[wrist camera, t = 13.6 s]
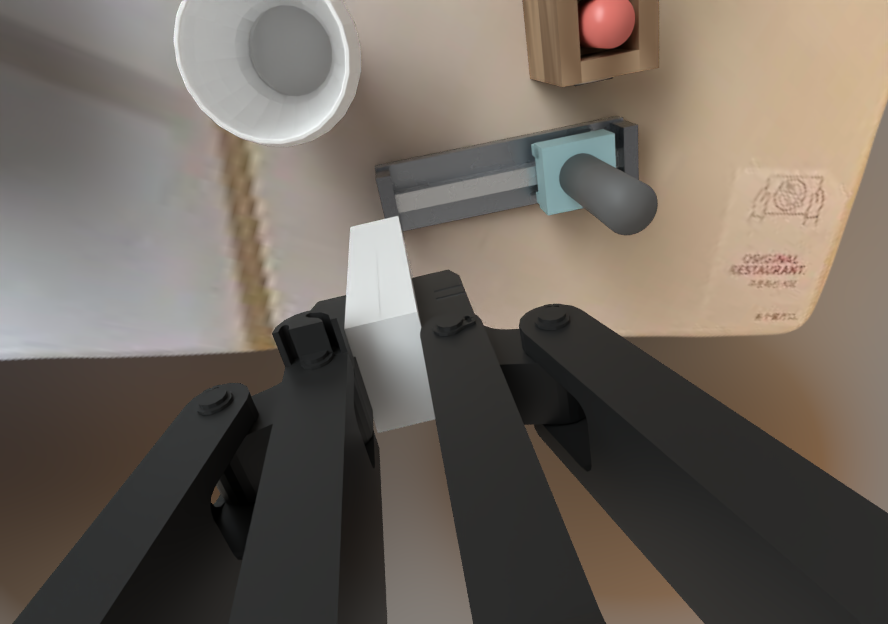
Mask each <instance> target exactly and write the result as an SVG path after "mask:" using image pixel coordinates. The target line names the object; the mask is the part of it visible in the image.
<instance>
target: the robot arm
mask: <svg viewBox="0 0 888 624" xmlns="http://www.w3.org/2000/svg"><path fill="white" fill-rule="evenodd" d="M272 335H273V337H274V340H275V342H276V345H277V347H278V350H279V352H280V355H281V357H282V360H283V362H284V365H285V371H284V376H283V381H282V382H281V383H279V384H278V385H276V386H274V387H272V388H270V389H268V390H265V391H263V392H260V393H258V394H256V395H254V396H251V394H250V392H249V390H248V388H247V386H245V385H243V384H241V383H228V384H223V385H217V386H214V387H213V388H209V389H207V390H205V391H203V393H201V394H200V395H198V396H196V397H195V398H193V399H192V400H191V401H190V402H189V403H188V404H187V405H186V406H185V407H184V409H183V410H182V411H181V412H180V414H179V415H178V416H177V417H176V419H175V420H174V421H173V423H172V424H171V425H170V426H169V427H168V429H167V430H166V431H165V433H164V434H163V435H162V436H161V438H160V439H159V440H158V441H157V442H156V444H155V445H154V446H153V448H152V449H151V450H150V451H149V453H148V454H147V455H146V456H145V458H144V459H143V460H142V461H141V463H140V464H139V465H138V466H137V468H136V469H135V470H134V471H133V473H132V474H131V475H130V476H129V478H128V479H127V480H126V482H125V483H124V484H123V485H122V487H121V488H120V489H119V490H118V492H117V493H116V494H115V495H114V497H113V498H112V499H111V500H110V502H109V503H108V504H107V505H106V507H105V508H104V509H103V510H102V512H101V513H100V514H99V516H98V517H97V518H96V519H95V520H94V522H93V523H92V524H91V526H90V527H89V528H88V529H87V531H86V532H85V533H84V534H83V536H82V537H81V538H80V539H79V541H78V542H77V543H76V544H75V546H74V547H73V548H72V549H71V551H70V552H69V553H68V555H67V556H66V557H65V558H64V560H63V561H62V562H61V563H60V565H59V566H58V567H57V569H56V570H55V571H54V572H53V573H52V575H51V576H50V577H49V578H48V580H47V581H46V582H45V583H44V585H43V586H42V587H41V588H40V590H39V591H38V592H37V594H36V595H35V596H34V597H33V598H32V600H31V601H30V602H29V604H28V605H27V606H26V607H25V609H24V610H23V611H22V612H21V614H20V615H19V616H18V618H17V619H16V620H15V621H14V622H13V624H387V607H386V585H385V563H384V541H383V521H382V520H383V519H382V498H381V476H380V456H379V455H380V454H379V446H378V443H377V440H376V437H375V433H374V430H373V419H374V422H375V425H376V428H377V431H378V433H380V432H384V431H388V430H392V429H396V428H401V427H405V426H409V425H413V424H417V423H421V422H426V421H430V420H434V419H435V420H436V425H437V431H438V435H439V441H440V446H441V452H442V458H443V463H444V468H445V474H446V479H447V484H448V490H449V495H450V500H451V506H452V511H453V517H454V522H455V528H456V533H457V539H458V544H459V549H460V555H461V560H462V566H463V571H464V576H465V582H466V587H467V593H468V598H469V603H470V608H471V614H472V619H473V624H606V622H605V621H604V619H603V616H602V614H601V612H600V610H599V607H598V605H597V602H596V600H595V597H594V595H593V593H592V590H591V588H590V585H589V583H588V580H587V578H586V576H585V573H584V570H583V568H582V566H581V563H580V561H579V558H578V556H577V553H576V551H575V548H574V546H573V544H572V541H571V539H570V536H569V534H568V531H567V529H566V526H565V524H564V521H563V519H562V517H561V514H560V512H559V509H558V507H557V504H556V502H555V499H554V497H553V495H552V492H551V490H550V487H549V485H548V482H547V480H546V477H545V475H544V472H543V470H542V468H541V465H540V463H539V460H538V458H537V455H536V453H535V450H534V448H533V445H532V443H531V441H530V438H529V436H528V433H527V431H526V428H525V426H524V425H525V424H527V425H528V424H534V427H535V429H536V431H537V433H538V435H539V436H540V437H541V438H542V440H543V441H544V442H545V443H546V444H547V445H548V446H549V448H550V449H551V450H552V451H553V452H554V453H555V454H556V456H557V457H558V458H559V459H560V460H561V461H562V462H563V463H564V464H565V466H566V467H567V468H568V469H569V470H570V471H571V472H572V474H573V475H574V476H575V477H576V478H577V479H578V480H579V481H580V483H581V484H582V485H583V486H584V487H585V488H586V489H587V491H588V492H589V493H590V494H591V495H592V496H593V498H594V499H595V500H596V501H597V502H598V503H599V504H600V505H601V507H602V508H603V509H604V510H605V511H606V512H607V513H608V515H609V516H610V517H611V518H612V519H613V520H614V521H615V522H616V524H617V525H618V526H619V527H620V528H621V529H622V530H623V532H624V533H625V534H626V535H627V536H628V537H629V538H630V540H631V541H632V542H633V543H634V544H635V545H636V546H637V547H638V549H639V550H641V552H642V553H643V554H644V555H645V556H646V558H647V559H648V560H649V561H650V562H651V563H652V564H653V566H654V567H655V568H656V569H657V570H658V571H659V572H660V573H661V575H662V576H663V577H664V578H665V579H666V580H667V582H668V583H669V584H671V586H672V587H673V588H674V589H675V591H676V592H677V593H678V594H679V595H680V596H681V597H682V599H683V600H684V601H685V602H686V603H687V604H688V605H689V607H690V608H691V609H692V610H693V611H694V612H695V613H696V614H697V616H699V618H700V619H701V620H702V621H703V622H704V623H705V624H888V513H887V512H885V511H884V510H882V509H881V508H879V507H878V506H876V505H875V504H873V503H871V502H870V501H869V500H867V499H866V498H864V497H863V496H861V495H859V494H858V493H856V492H855V491H853V490H852V489H850V488H849V487H847V486H845V485H844V484H843V483H841V482H840V481H838V480H837V479H835V478H834V477H832V476H831V475H829V474H828V473H826V472H825V471H823V470H822V469H820V468H819V467H817V466H816V465H814V464H813V463H811V462H810V461H808V460H807V459H805V458H804V457H802V456H801V455H799V454H798V453H796V452H795V451H793V450H792V449H790V448H789V447H787V446H786V445H784V444H783V443H781V442H779V441H778V440H777V439H775V438H773V437H772V436H770V435H769V434H768V433H766V432H765V431H763V430H761V429H760V428H759V427H757V426H756V425H754V424H752V423H751V422H750V421H748V420H746V419H745V418H743V417H742V416H740V415H739V414H737V413H736V412H734V411H733V410H731V409H730V408H728V407H727V406H725V405H724V404H722V403H721V402H719V401H718V400H716V399H715V398H713V397H712V396H710V395H709V394H707V393H706V392H704V391H703V390H701V389H700V388H698V387H697V386H695V385H694V384H692V383H691V382H689V381H688V380H686V379H685V378H683V377H682V376H680V375H679V374H677V373H676V372H674V371H673V370H671V369H670V368H668V367H667V366H665V365H664V364H662V363H661V362H659V361H658V360H656V359H655V358H653V357H652V356H650V355H649V354H647V353H646V352H644V351H642V350H641V349H640V348H638V347H637V346H635V345H633V344H632V343H630V342H629V341H627V340H626V339H624V338H623V337H621V336H620V335H618V334H617V333H615V332H614V331H612V330H611V329H609V328H608V327H606V326H605V325H603V324H602V323H600V322H599V321H597V320H596V319H594V318H593V317H591V316H590V315H588V314H587V313H585V312H584V311H582V310H581V309H578V308H576V307H574V306H570V305H563V304H553V305H552V304H548V305H544V306H542V307H538V308H535V309H533V310H531V311H529V312H527V313H526V314H525V315H524V316H523V317H522V318H521V319H520V323H519V329H509V330H506V329H493V328H489V327H486V326H484V325H483V323H482V320H481V319H480V318H479V317H478V316H477V315H475V314H474V312H473V309H472V307H471V304H470V302H469V299H468V297H467V294H466V292H465V289H464V287H463V284H462V282H461V279H460V277H459V275H457V274H456V273H454V272H452V271H450V270H444V271H440V272H436V273H432V274H427V275H423V276H419V277H415V278H413V274H412V270H411V266H410V262H409V258H408V254H407V250H406V245H405V241H404V237H403V233H402V229H401V225H400V221H399V217H398V216H395V217H391V218H387V219H382V220H378V221H374V222H370V223H365V224H361V225H357V226H352V227H350V241H349V258H348V275H347V292H346V295H345V296H341V297H336V298H332V299H328V300H324V301H319V302H317V304H316V305H315V306H314V307H313V308H312V309H311V310H310V311H306V312H303V313H300V314H297V315H294V316H292V317H290V318H288V319H286V320H284V321H283V322H282V323H281V324H279V325H278V326H277V327H276V328H275V330H274V331H273V333H272ZM215 486H217V488H218V490H219V492H220V496H219V498H218V499H217V501H216V503H215V504H214V505H213V504H212V503H211V495H212V493H213V491H214V488H215Z"/></svg>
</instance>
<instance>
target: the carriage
mask: <svg viewBox="0 0 888 624" xmlns="http://www.w3.org/2000/svg"><path fill="white" fill-rule="evenodd" d="M531 148H532V155H533V156H534V157H535V162H536V172H537V182H538V192H536V197H537V202H538V203H539V204H540V208H541V209H542V210H543V211H544V212H545V213H546V214H547V215H553V214H557V213H562V212H567V211H572V210H577V209H581V208H585V209H586V210H587V211H589V212H590V213H591V214H592V215H594V216H595V217H596V218H597V219H599V220H600V221H601V222H602V223H604V224H605V225H606V226H607V227H609V228H610V229H611V230H612V231H614V232H615V233H618V234H621V235H632V234H636V233H638V232H640V231H642V230H643V229H645V228H646V227H647V226H648V225H649V224H650V223H651V221H652V220H653V218H654V216H655V214H656V211H657V204H658V203H657V197H656V194H655V192H654V190H653V189H652V188H651V187H650V186H648V185H647V184H645V183H643V182H641V181H639V180H637V179H636V178H634V177H632V176H630V175H628V174H626V173H624V172H622V171H621V170H619V169H617V168H616V155H615V133H612V132H610V131H607V130H605V129H600V130H595V131H591V132H586V133H581V134H576V135H571V136H566V137H561V138H557V139H552V140H547V141H542V142H537V143H534V144H531Z"/></svg>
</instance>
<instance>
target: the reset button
mask: <svg viewBox="0 0 888 624" xmlns="http://www.w3.org/2000/svg"><path fill="white" fill-rule="evenodd" d="M577 6H578V23H579V41H580V46H581V47H587V48H609V49H610V48H615V47H618V46H620V45H621V44H623V43H624V42H625V41H626V40H627V39H628V38H629V36H630V35H631V33H632V30H633V28H634V24H635V12H634V9H633V6H632V4H631V3H630V1H629V0H583V1H581V2H579V3H578V4H577Z"/></svg>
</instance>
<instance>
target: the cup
mask: <svg viewBox="0 0 888 624" xmlns="http://www.w3.org/2000/svg"><path fill="white" fill-rule="evenodd" d="M173 41H174V48H175V55H176V62H177V66H178V69H179V71H180V74H181V76H182V79H183V81H184V84H185V86H186V89H187V90H188V92H189V93H190V94H191V96H192V97H193V99H194V100H195V102H196V103H197V105H198V106H199V107H200V109H201V110H202V111H203V112H204V113H205V114H206V115H208V116H209V117H210V118H211V119H212V120H213V121H214V122H215V123H216V124H217V125H218V126H220V127H222V128H223V129H225V130H227V131H229V132H230V133H232V134H234V135H236V136H237V137H239V138H242V139H244V140H248V141H251V142H255V143H258V144H262V145H265V146H279V147H291V146H295V145H299V144H303V143H307V142H311V141H313V140H315V139H316V138H318V137H320V136H322V135H323V134H325V133H327V132H329V131H330V130H331V129H332V128H333V127H334V126H335V125H336V124H337V123H338V122H339V121H340V120H341V119H342V118H343V117H344V116H345V114H346V112H347V110H348V108H349V106H350V105H351V103H352V101H353V99H354V97H355V95H356V91H357V87H358V82H359V78H360V74H361V45H360V42H359V38H358V34H357V30H356V26H355V22H354V21H353V19H352V17H351V15H350V13H349V11H348V9H347V7H346V5H345V3H344V1H343V0H182V2H181V4H180V7H179V9H178V11H177V14H176V20H175V29H174V38H173Z"/></svg>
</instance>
